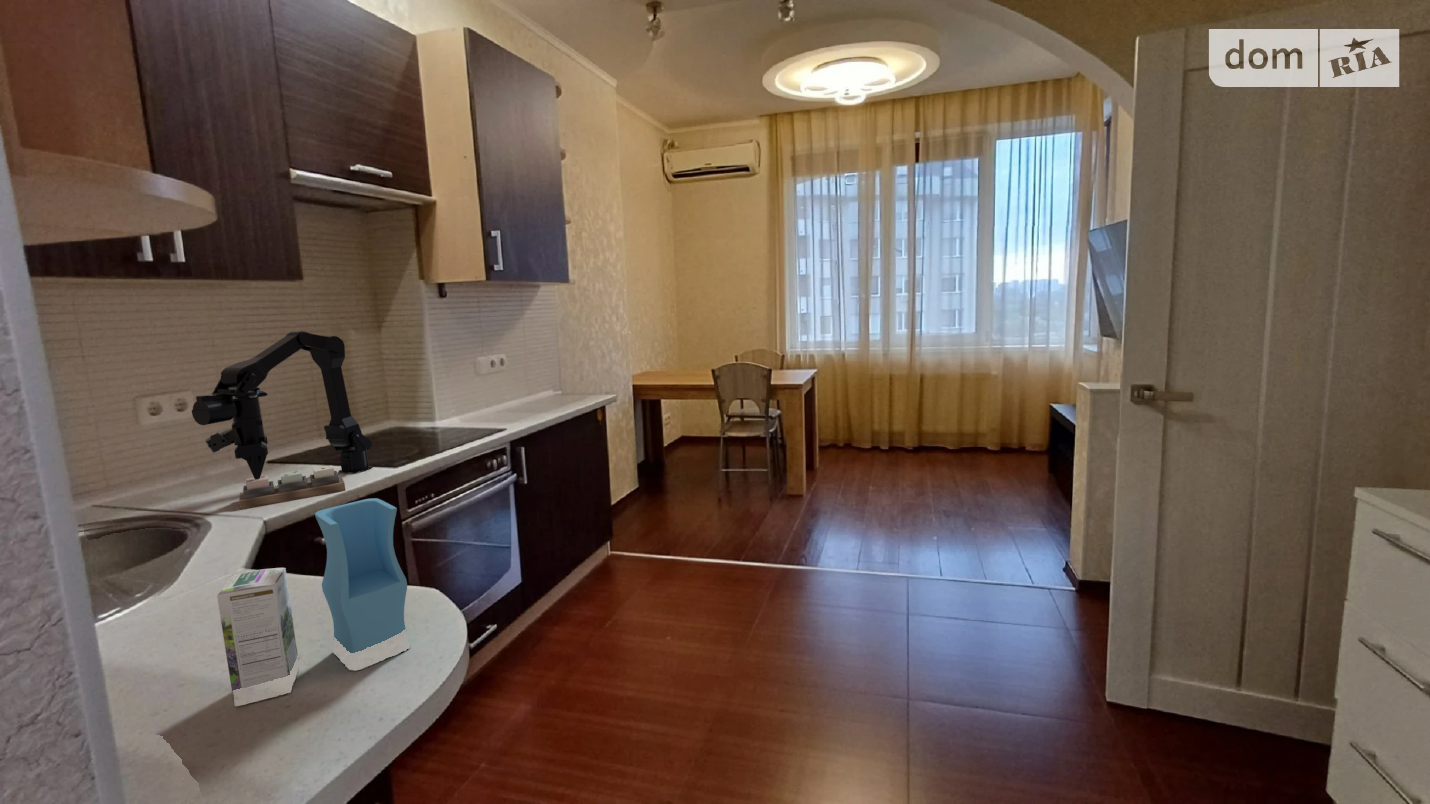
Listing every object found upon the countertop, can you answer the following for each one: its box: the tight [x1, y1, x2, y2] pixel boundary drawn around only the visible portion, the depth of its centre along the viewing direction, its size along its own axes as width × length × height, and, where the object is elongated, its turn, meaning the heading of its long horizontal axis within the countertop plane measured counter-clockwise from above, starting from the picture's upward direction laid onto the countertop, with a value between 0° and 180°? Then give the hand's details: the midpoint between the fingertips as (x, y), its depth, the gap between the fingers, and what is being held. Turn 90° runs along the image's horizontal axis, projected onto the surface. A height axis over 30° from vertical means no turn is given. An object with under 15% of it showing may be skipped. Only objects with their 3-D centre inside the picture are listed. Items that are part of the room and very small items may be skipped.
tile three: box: [245, 475, 270, 490], centre depth 153 cm, size 4×4×2 cm
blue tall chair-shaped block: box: [314, 497, 408, 653], centre depth 82 cm, size 8×8×20 cm
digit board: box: [238, 470, 346, 510], centre depth 158 cm, size 22×9×4 cm, turn 126°
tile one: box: [312, 465, 335, 479], centre depth 161 cm, size 4×4×2 cm
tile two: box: [279, 470, 303, 484], centre depth 157 cm, size 4×4×2 cm
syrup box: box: [217, 567, 299, 692], centre depth 75 cm, size 6×6×14 cm
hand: (257, 478), depth 153 cm, fingers closed
